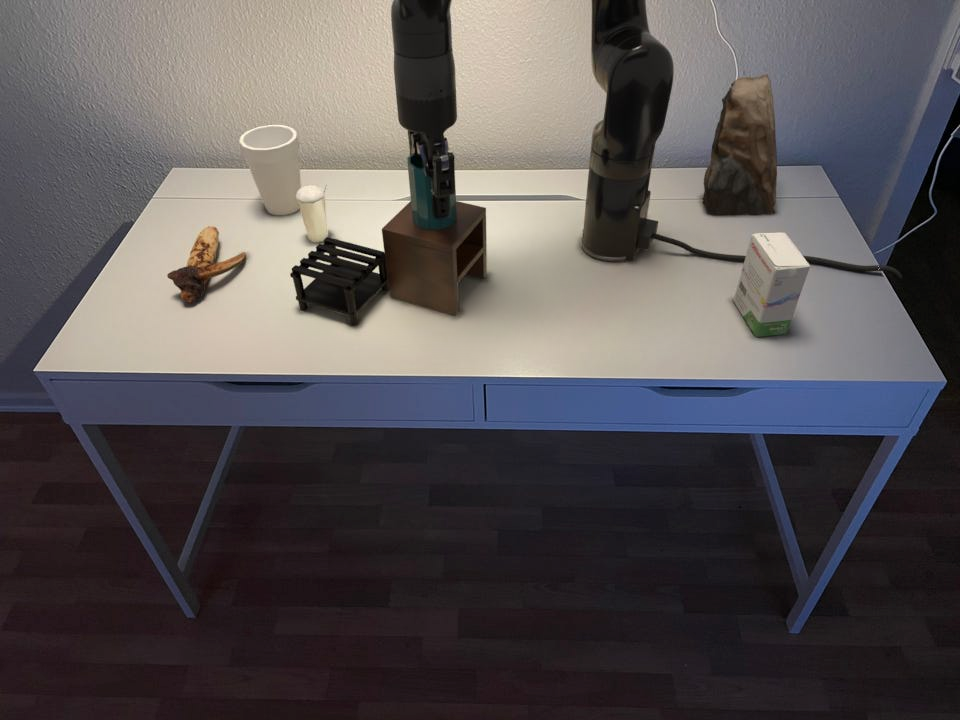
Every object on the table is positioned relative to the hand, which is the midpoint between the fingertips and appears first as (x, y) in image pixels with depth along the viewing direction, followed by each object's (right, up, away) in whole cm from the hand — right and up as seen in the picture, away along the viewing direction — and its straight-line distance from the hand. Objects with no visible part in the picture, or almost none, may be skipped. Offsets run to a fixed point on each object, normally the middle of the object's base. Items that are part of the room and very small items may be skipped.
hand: (433, 204), depth 100 cm
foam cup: (-29, +6, +28) cm, 40 cm away
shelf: (0, -10, +10) cm, 14 cm away
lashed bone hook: (-36, -8, +14) cm, 39 cm away
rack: (-14, -13, +8) cm, 20 cm away
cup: (0, -2, +2) cm, 2 cm away
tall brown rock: (+52, +6, +26) cm, 58 cm away
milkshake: (-20, -1, +20) cm, 29 cm away
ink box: (+47, -16, +3) cm, 49 cm away
